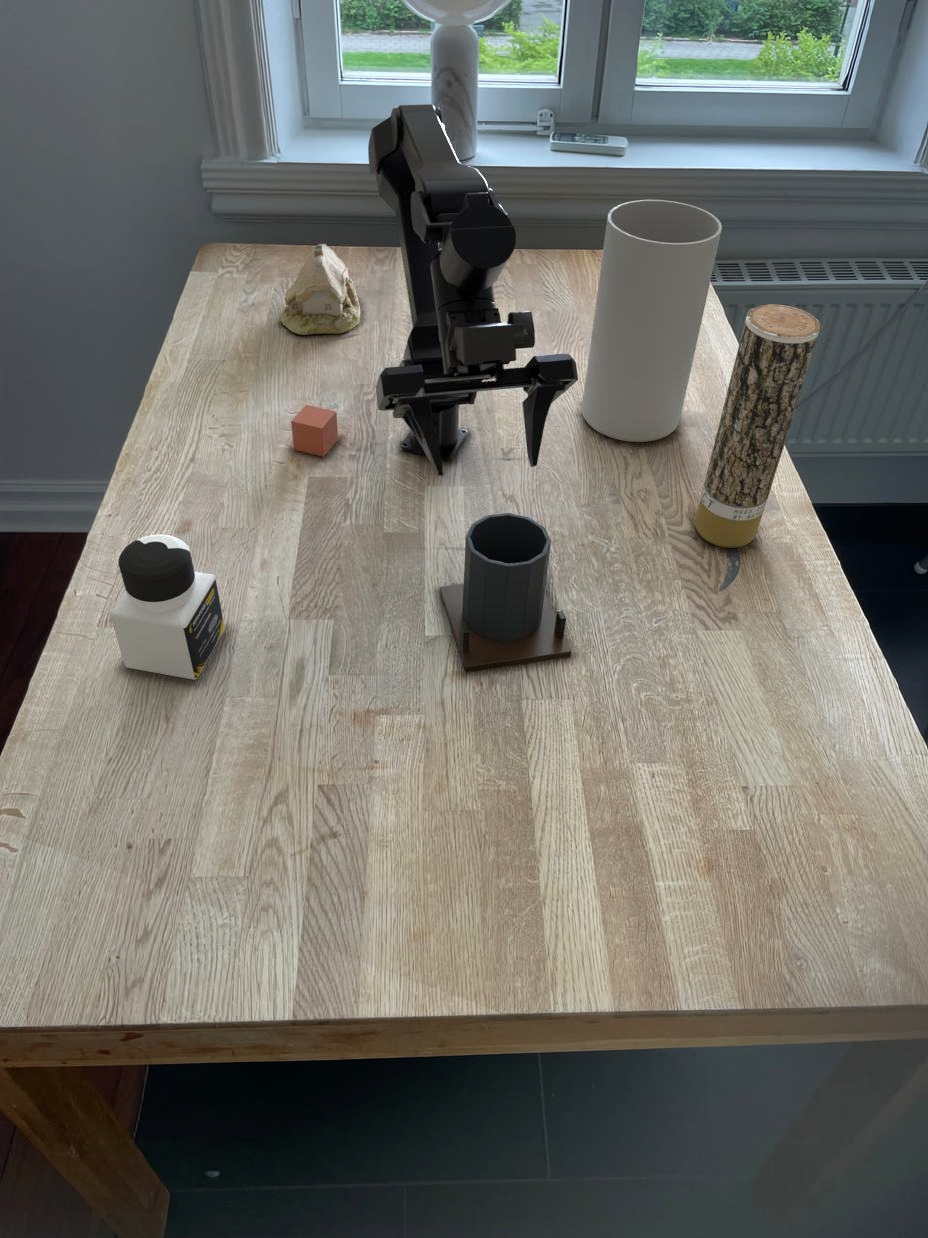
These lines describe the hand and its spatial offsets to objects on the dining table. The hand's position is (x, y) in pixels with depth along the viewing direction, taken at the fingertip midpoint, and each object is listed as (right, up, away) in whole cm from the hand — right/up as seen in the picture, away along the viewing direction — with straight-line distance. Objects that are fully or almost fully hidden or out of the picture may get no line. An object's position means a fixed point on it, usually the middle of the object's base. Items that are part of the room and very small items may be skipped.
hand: (487, 470), depth 93 cm
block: (-20, +7, +24) cm, 32 cm away
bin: (+1, -14, +3) cm, 14 cm away
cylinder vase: (+19, +11, +32) cm, 38 cm away
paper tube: (+27, -5, +15) cm, 31 cm away
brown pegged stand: (+1, -14, +3) cm, 15 cm away
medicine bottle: (-29, -17, -1) cm, 34 cm away
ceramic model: (-23, +30, +49) cm, 62 cm away
